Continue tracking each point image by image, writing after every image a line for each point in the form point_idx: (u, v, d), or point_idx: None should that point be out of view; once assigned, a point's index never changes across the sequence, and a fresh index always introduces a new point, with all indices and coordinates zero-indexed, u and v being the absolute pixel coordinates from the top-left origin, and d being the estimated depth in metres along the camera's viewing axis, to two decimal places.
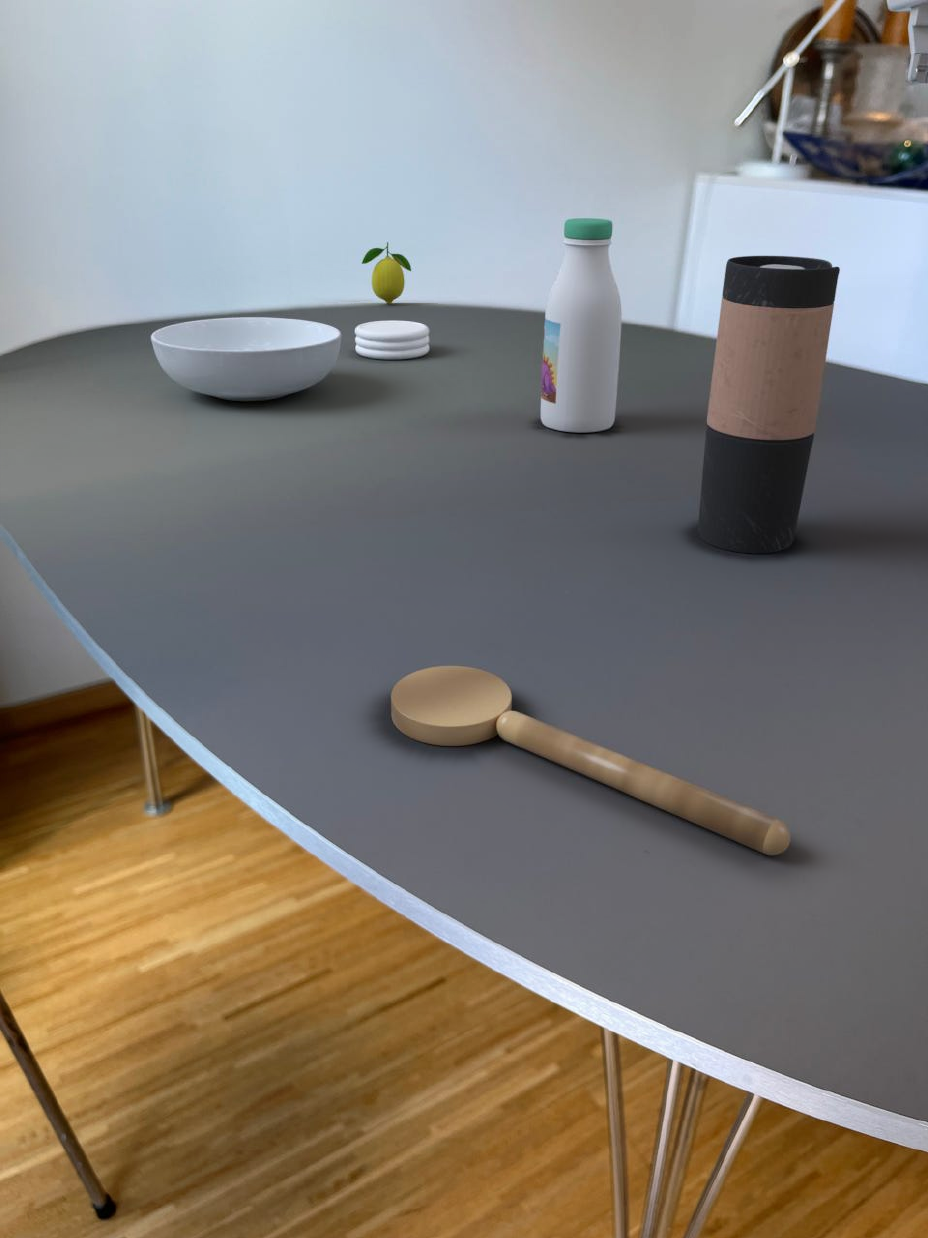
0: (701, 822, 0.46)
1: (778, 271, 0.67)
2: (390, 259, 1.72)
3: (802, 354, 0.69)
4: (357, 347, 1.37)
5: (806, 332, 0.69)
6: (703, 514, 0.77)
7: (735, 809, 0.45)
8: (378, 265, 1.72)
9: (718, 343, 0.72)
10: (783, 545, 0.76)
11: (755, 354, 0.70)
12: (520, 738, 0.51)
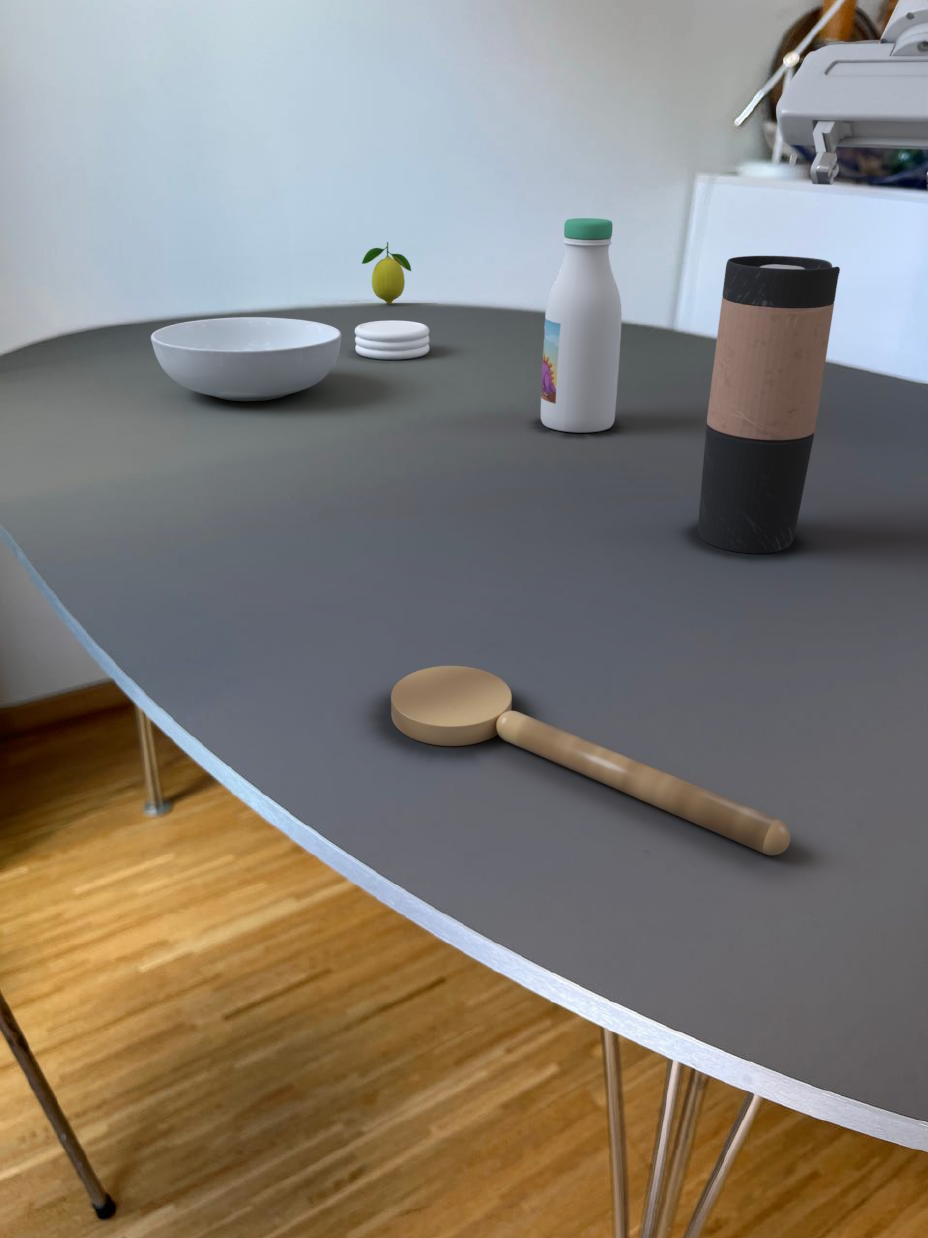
0: (701, 822, 0.46)
1: (778, 271, 0.67)
2: (390, 259, 1.72)
3: (802, 354, 0.69)
4: (357, 347, 1.37)
5: (806, 332, 0.69)
6: (703, 514, 0.77)
7: (735, 809, 0.45)
8: (378, 265, 1.72)
9: (718, 343, 0.72)
10: (783, 545, 0.76)
11: (755, 354, 0.70)
12: (520, 738, 0.51)
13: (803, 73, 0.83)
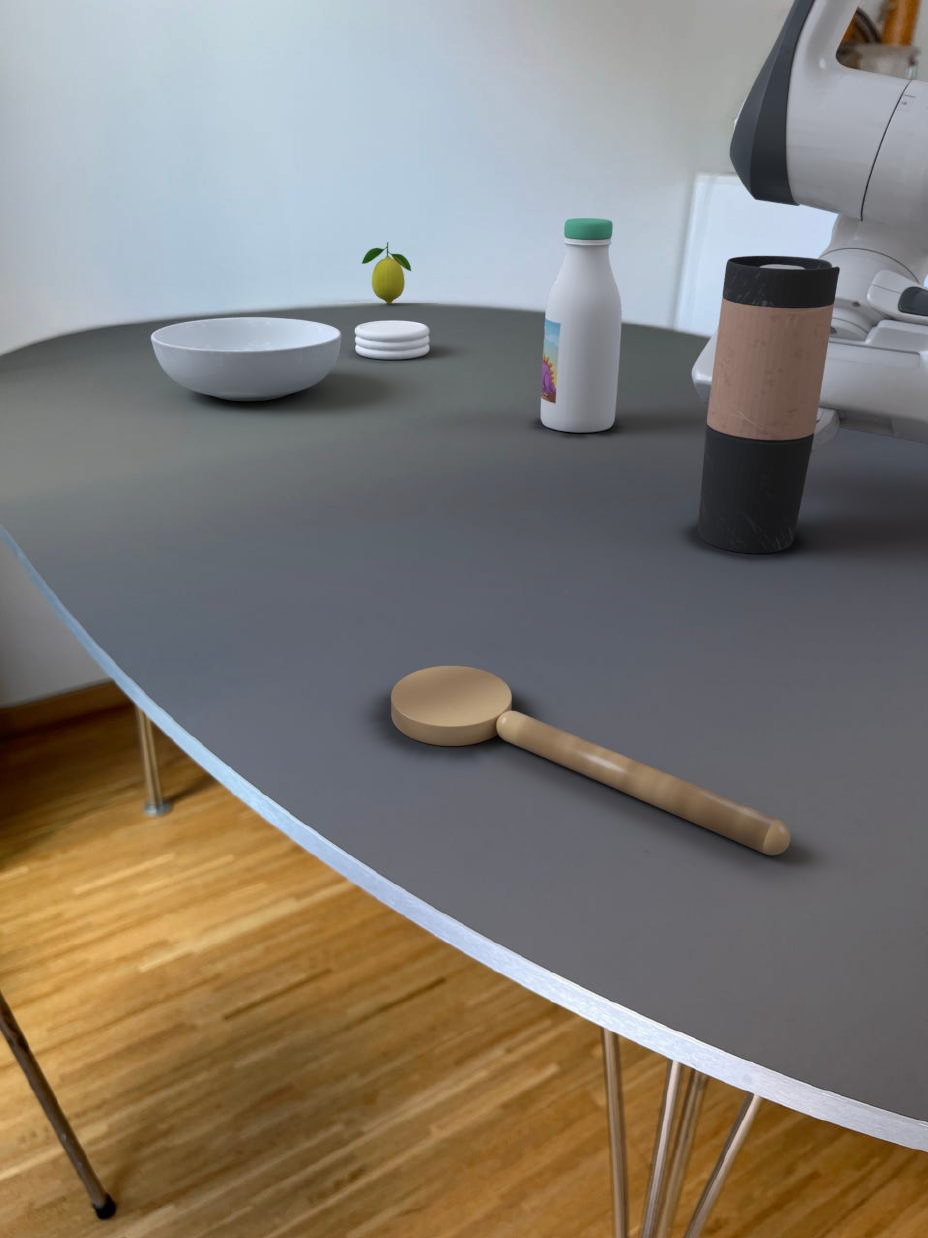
0: (701, 822, 0.46)
1: (778, 271, 0.67)
2: (390, 259, 1.72)
3: (802, 354, 0.69)
4: (357, 347, 1.37)
5: (806, 332, 0.69)
6: (703, 514, 0.77)
7: (735, 809, 0.45)
8: (378, 265, 1.72)
9: (718, 343, 0.72)
10: (783, 545, 0.76)
11: (755, 354, 0.70)
12: (520, 738, 0.51)
13: None
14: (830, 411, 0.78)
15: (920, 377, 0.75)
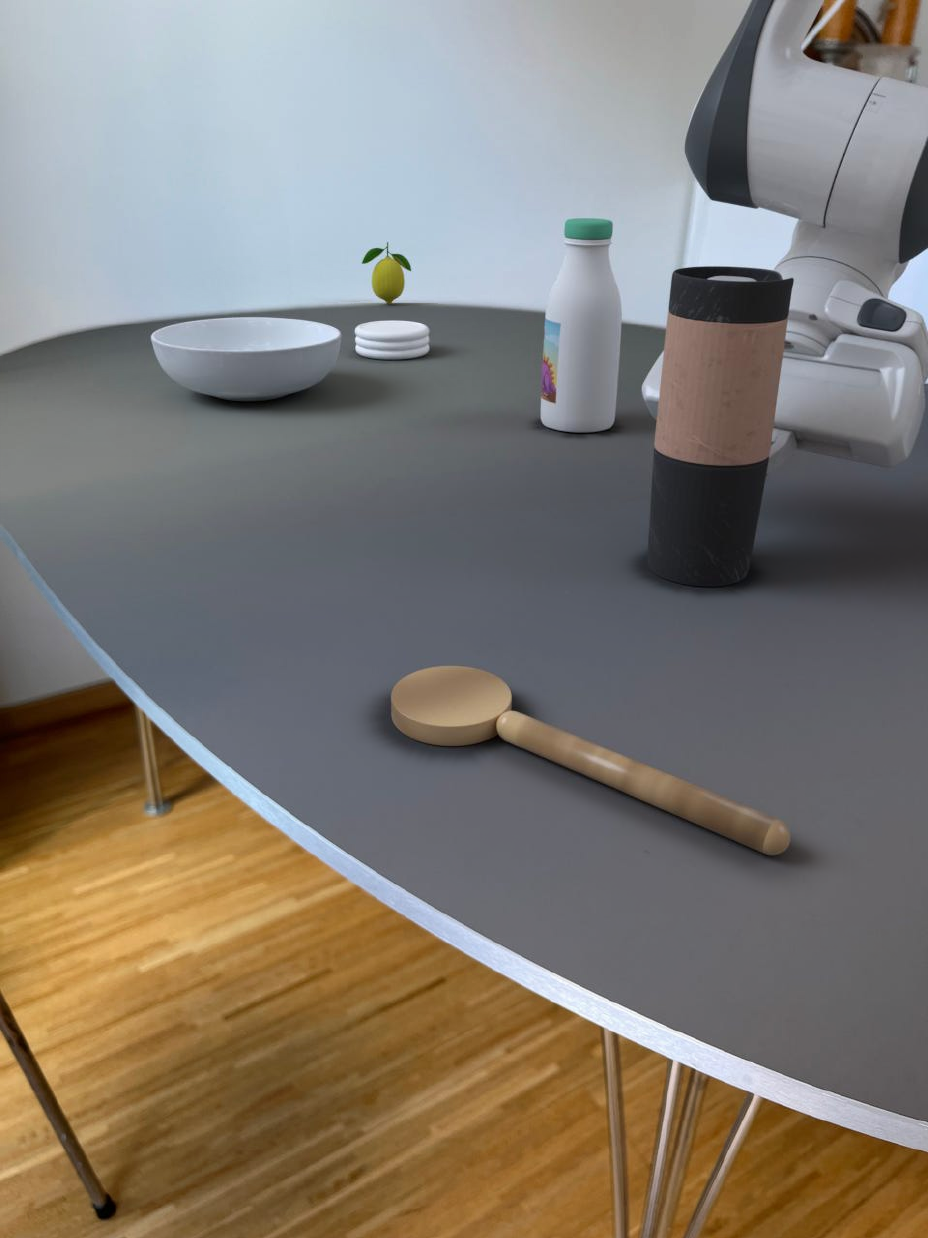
0: (701, 822, 0.46)
1: (734, 284, 0.62)
2: (390, 259, 1.72)
3: (760, 373, 0.64)
4: (357, 347, 1.37)
5: (764, 349, 0.64)
6: (655, 546, 0.71)
7: (735, 809, 0.45)
8: (378, 265, 1.72)
9: (667, 362, 0.67)
10: (741, 575, 0.71)
11: (711, 374, 0.64)
12: (520, 738, 0.51)
13: None
14: (785, 432, 0.73)
15: (880, 397, 0.70)
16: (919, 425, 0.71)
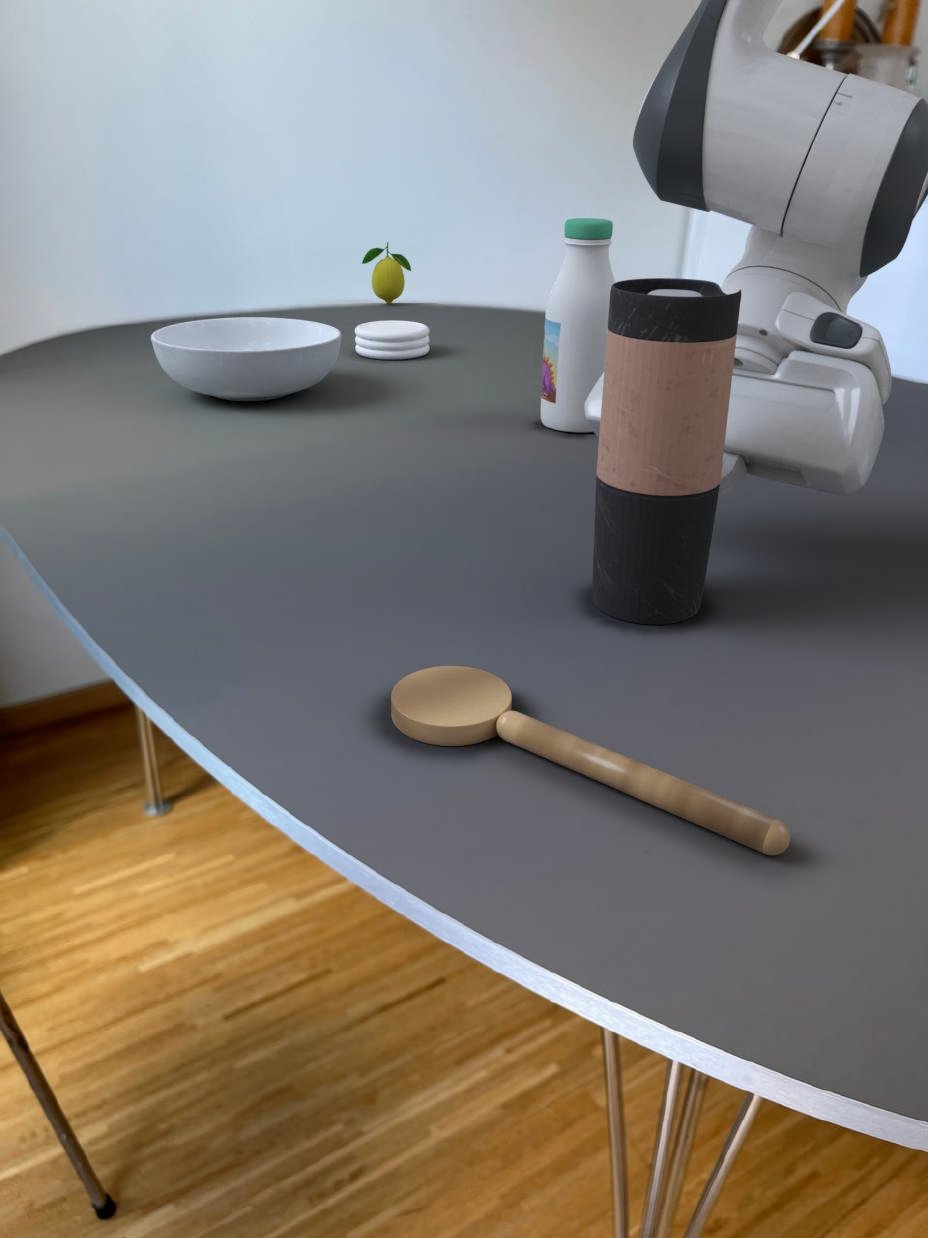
0: (701, 822, 0.46)
1: (692, 300, 0.56)
2: (390, 259, 1.72)
3: (717, 393, 0.59)
4: (357, 347, 1.37)
5: (721, 368, 0.59)
6: (607, 586, 0.65)
7: (735, 809, 0.45)
8: (378, 265, 1.72)
9: (613, 387, 0.60)
10: (698, 607, 0.66)
11: (669, 398, 0.58)
12: (520, 738, 0.51)
13: None
14: (733, 457, 0.68)
15: (833, 420, 0.64)
16: (877, 450, 0.66)
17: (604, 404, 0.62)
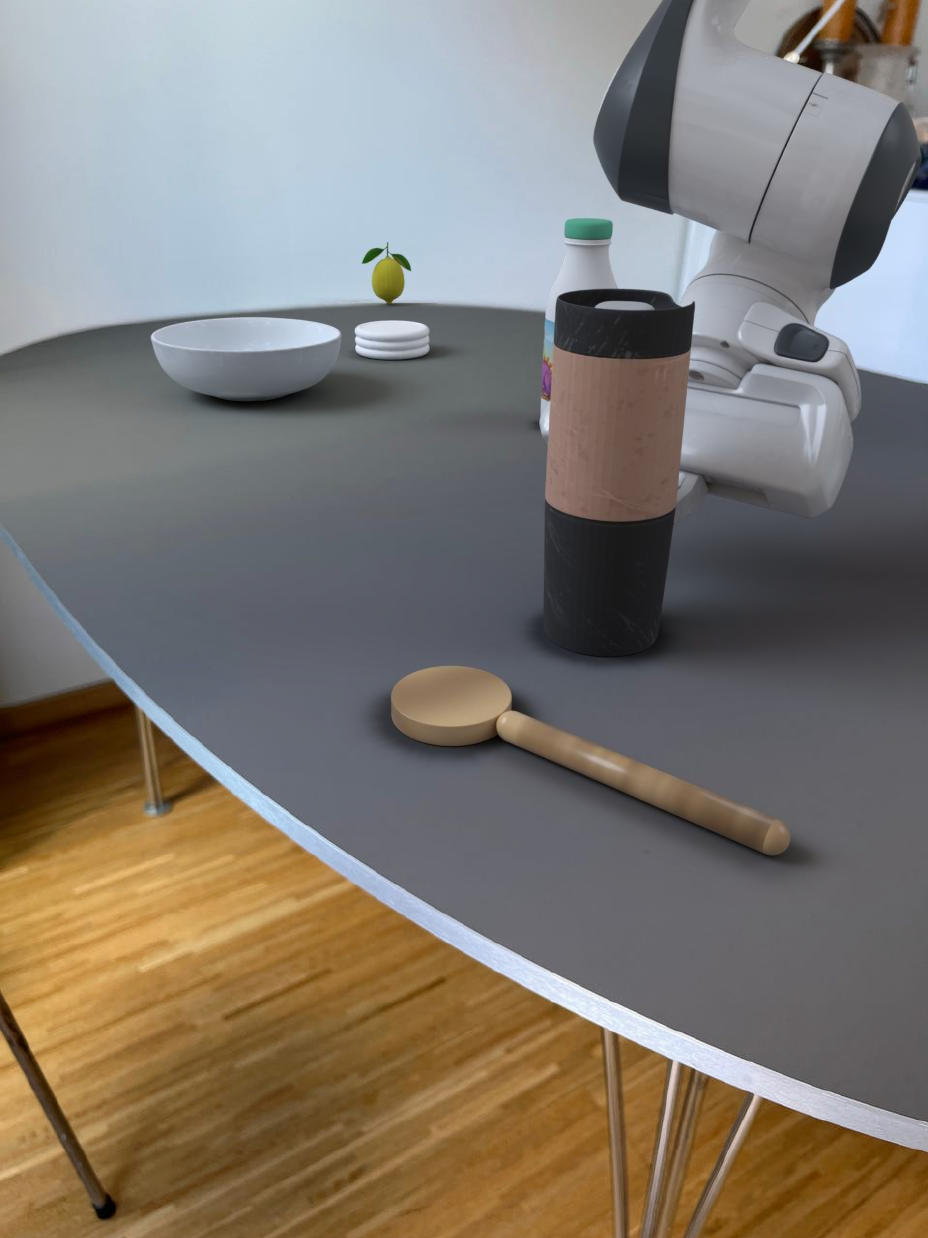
0: (701, 822, 0.46)
1: (643, 313, 0.52)
2: (390, 259, 1.72)
3: (672, 412, 0.55)
4: (357, 347, 1.37)
5: (675, 385, 0.55)
6: (559, 616, 0.61)
7: (735, 809, 0.45)
8: (378, 265, 1.72)
9: (561, 406, 0.56)
10: (655, 637, 0.63)
11: (620, 418, 0.55)
12: (520, 738, 0.51)
13: None
14: (693, 476, 0.64)
15: (798, 438, 0.61)
16: (845, 469, 0.62)
17: (551, 424, 0.58)
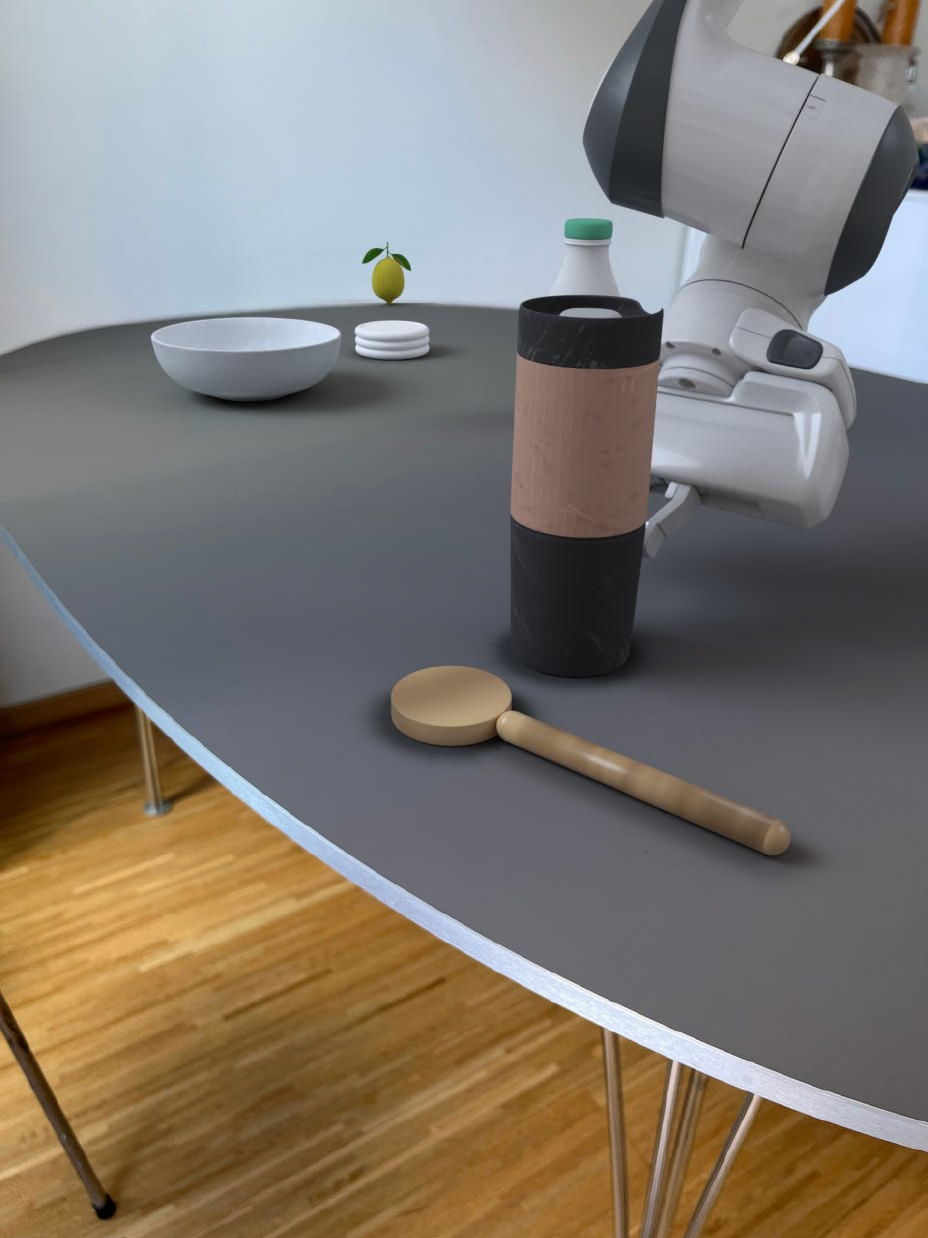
0: (701, 822, 0.46)
1: (609, 321, 0.50)
2: (390, 259, 1.72)
3: (640, 424, 0.53)
4: (357, 347, 1.37)
5: (643, 396, 0.53)
6: (526, 636, 0.59)
7: (735, 809, 0.45)
8: (378, 265, 1.72)
9: (525, 418, 0.54)
10: (626, 656, 0.60)
11: (586, 431, 0.52)
12: (520, 738, 0.51)
13: None
14: (685, 487, 0.62)
15: (792, 447, 0.59)
16: (841, 479, 0.60)
17: (516, 436, 0.55)
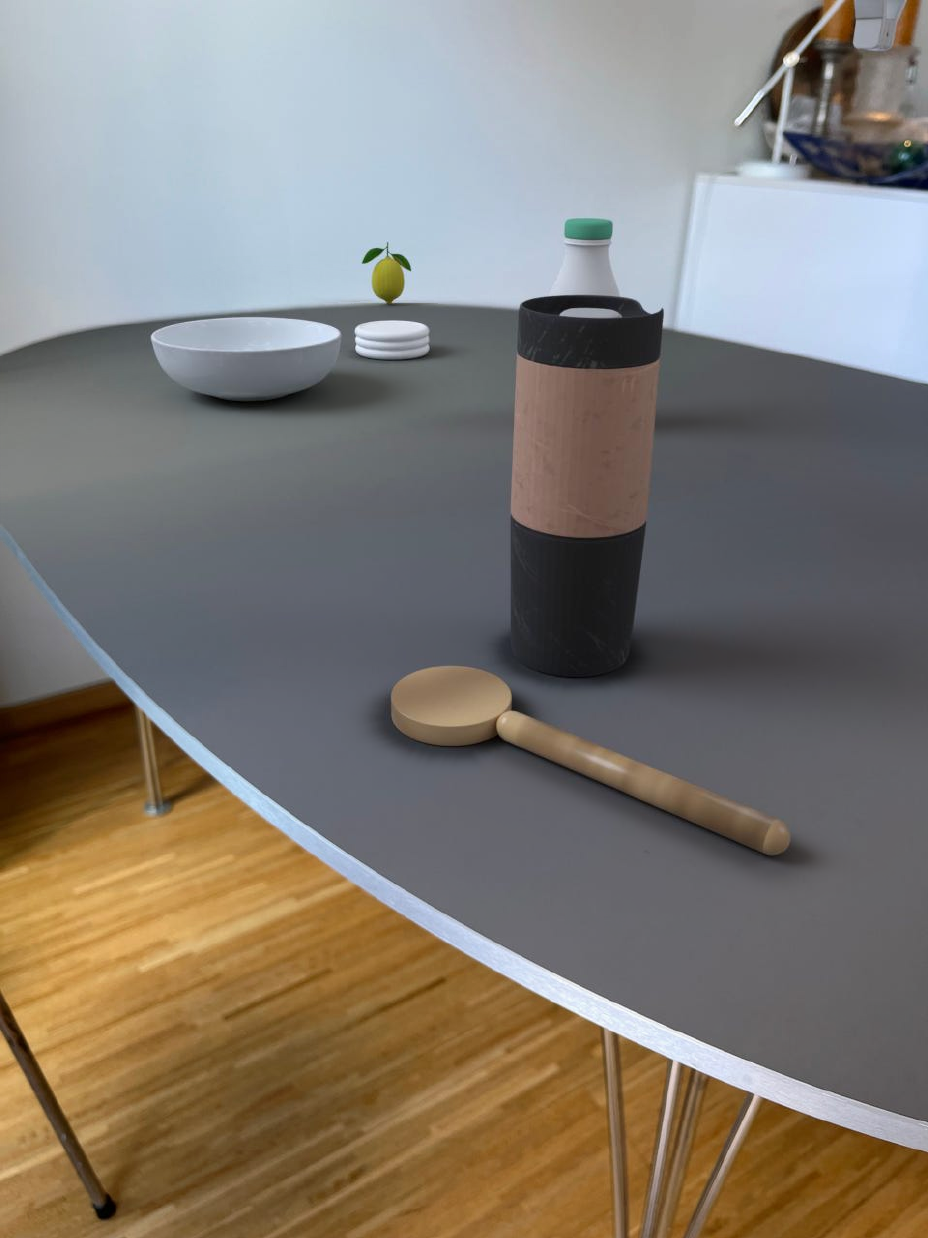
0: (701, 822, 0.46)
1: (609, 321, 0.50)
2: (390, 259, 1.72)
3: (640, 424, 0.53)
4: (357, 347, 1.37)
5: (643, 396, 0.53)
6: (526, 635, 0.59)
7: (735, 809, 0.45)
8: (378, 265, 1.72)
9: (525, 418, 0.54)
10: (626, 656, 0.60)
11: (586, 431, 0.52)
12: (520, 738, 0.51)
13: None
14: None
15: None
16: None
17: (516, 436, 0.55)
